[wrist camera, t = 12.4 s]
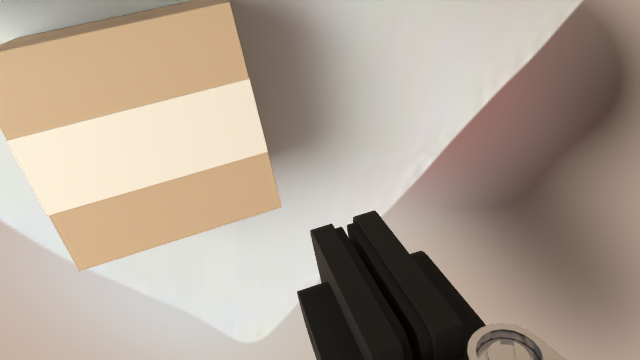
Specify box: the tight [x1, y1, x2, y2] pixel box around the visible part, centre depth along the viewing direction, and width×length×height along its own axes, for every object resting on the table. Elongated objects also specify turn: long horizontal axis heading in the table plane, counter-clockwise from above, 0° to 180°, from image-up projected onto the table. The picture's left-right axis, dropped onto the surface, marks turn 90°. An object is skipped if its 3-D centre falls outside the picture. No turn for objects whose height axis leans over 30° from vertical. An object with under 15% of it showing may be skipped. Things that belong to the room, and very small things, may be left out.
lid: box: [0, 1, 282, 271], centre depth 28 cm, size 14×14×1 cm
